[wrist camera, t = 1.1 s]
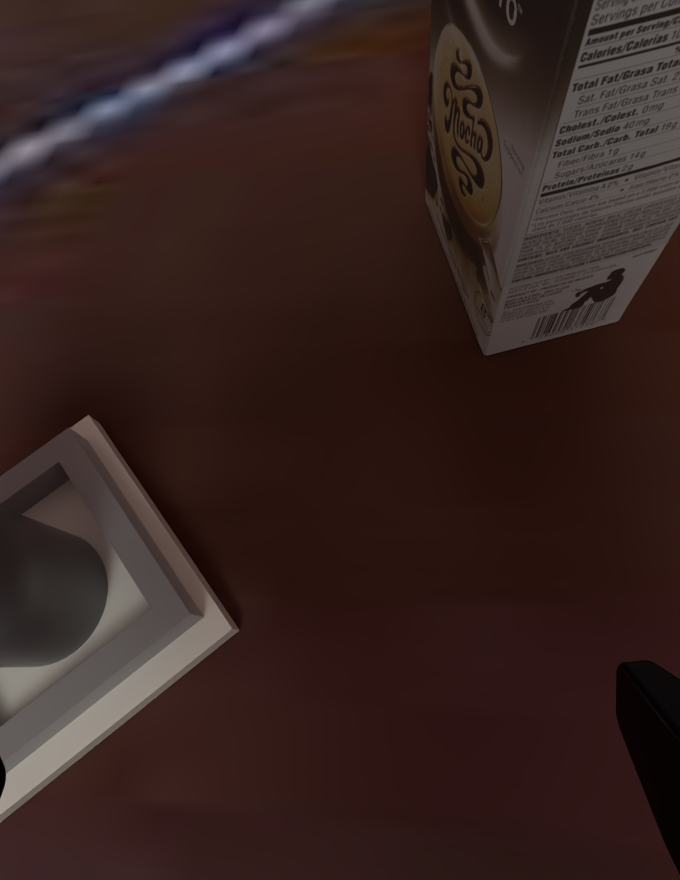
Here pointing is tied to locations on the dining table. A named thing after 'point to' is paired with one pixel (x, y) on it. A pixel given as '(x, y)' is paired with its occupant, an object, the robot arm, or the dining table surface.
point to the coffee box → (552, 157)
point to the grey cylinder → (46, 592)
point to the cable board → (124, 618)
